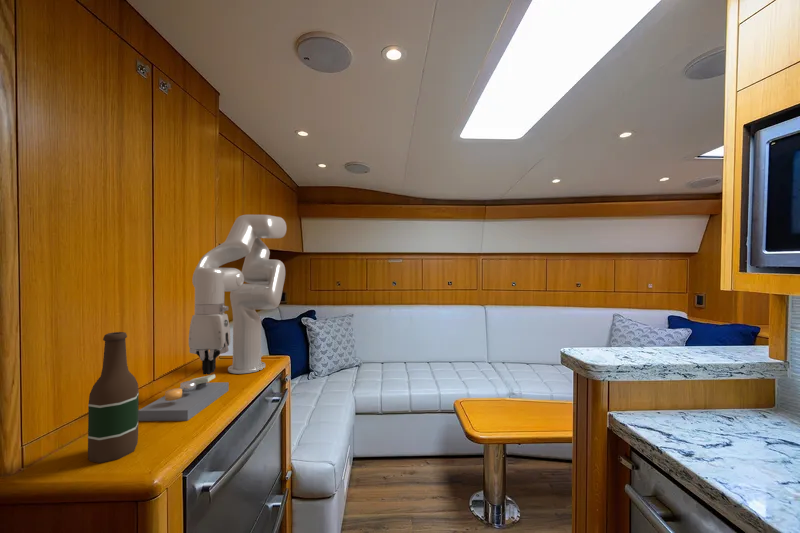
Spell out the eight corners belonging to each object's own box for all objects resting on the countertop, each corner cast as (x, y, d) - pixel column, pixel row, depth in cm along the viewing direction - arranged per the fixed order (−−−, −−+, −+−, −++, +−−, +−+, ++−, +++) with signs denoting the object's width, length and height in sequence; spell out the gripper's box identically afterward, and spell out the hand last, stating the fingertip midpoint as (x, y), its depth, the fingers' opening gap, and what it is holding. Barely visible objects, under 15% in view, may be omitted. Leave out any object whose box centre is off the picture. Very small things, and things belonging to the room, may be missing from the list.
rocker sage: (194, 382, 98) (193, 378, 98) (215, 377, 98) (214, 374, 98) (185, 386, 94) (185, 383, 94) (208, 382, 94) (207, 378, 94)
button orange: (171, 395, 86) (171, 388, 86) (185, 395, 86) (185, 388, 86) (161, 400, 82) (161, 393, 82) (176, 400, 82) (176, 393, 82)
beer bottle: (92, 469, 61) (94, 338, 61) (83, 454, 65) (84, 333, 66) (144, 450, 67) (145, 332, 67) (132, 438, 72) (133, 328, 72)
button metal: (185, 387, 92) (185, 380, 92) (198, 387, 92) (198, 380, 92) (177, 391, 88) (177, 385, 88) (190, 391, 88) (190, 385, 88)
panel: (188, 390, 100) (188, 379, 100) (228, 390, 100) (228, 379, 100) (137, 421, 80) (137, 406, 80) (187, 420, 80) (187, 406, 80)
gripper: (241, 308, 100) (240, 369, 100) (191, 308, 100) (190, 369, 99) (229, 311, 93) (228, 377, 92) (175, 311, 92) (174, 377, 92)
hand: (208, 372), depth 96 cm, fingers closed
